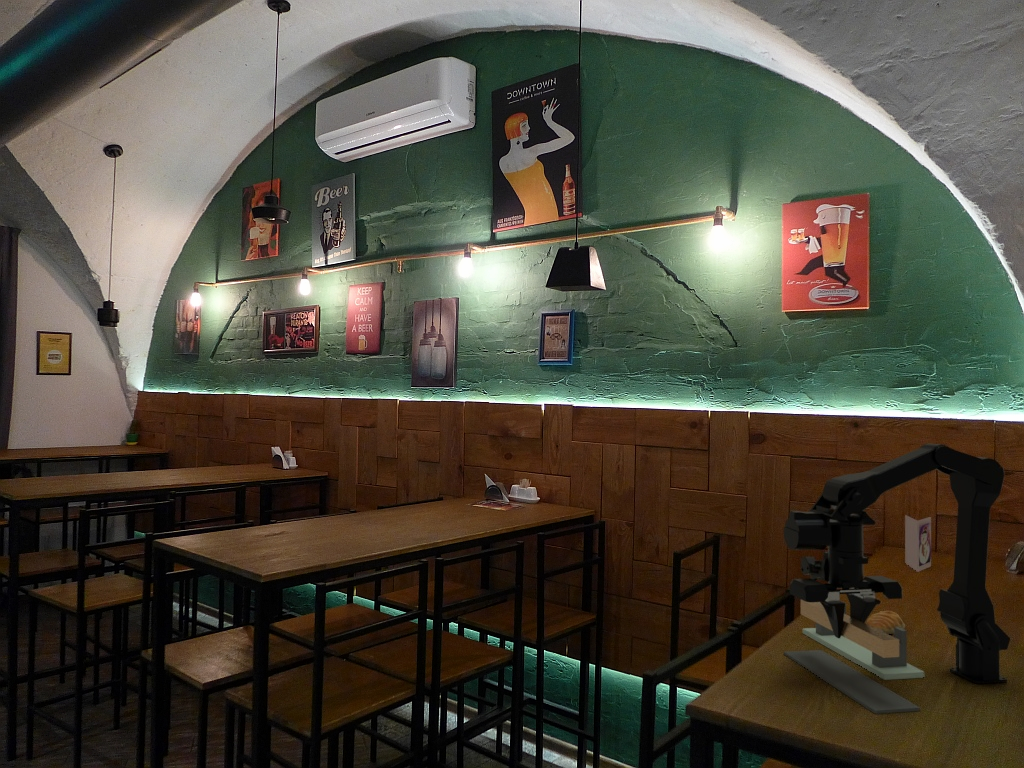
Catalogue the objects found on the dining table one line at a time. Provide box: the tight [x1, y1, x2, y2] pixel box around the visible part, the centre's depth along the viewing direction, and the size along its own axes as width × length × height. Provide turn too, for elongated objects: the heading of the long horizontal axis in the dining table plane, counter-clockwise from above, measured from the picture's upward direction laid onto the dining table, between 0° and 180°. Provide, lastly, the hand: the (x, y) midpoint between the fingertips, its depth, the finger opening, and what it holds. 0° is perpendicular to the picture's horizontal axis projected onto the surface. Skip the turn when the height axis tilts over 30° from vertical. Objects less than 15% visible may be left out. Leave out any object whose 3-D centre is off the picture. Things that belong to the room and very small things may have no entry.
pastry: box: [865, 610, 906, 634], centre depth 157 cm, size 9×7×4 cm
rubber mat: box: [783, 649, 921, 715], centre depth 128 cm, size 27×8×1 cm, turn 9°
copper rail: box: [800, 599, 899, 658], centre depth 129 cm, size 24×3×3 cm, turn 9°
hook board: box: [802, 602, 925, 681], centre depth 142 cm, size 26×8×8 cm, turn 9°
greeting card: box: [904, 514, 932, 573], centre depth 218 cm, size 11×7×15 cm, turn 132°
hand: (845, 637), depth 129 cm, fingers closed on copper rail, 3 cm apart
